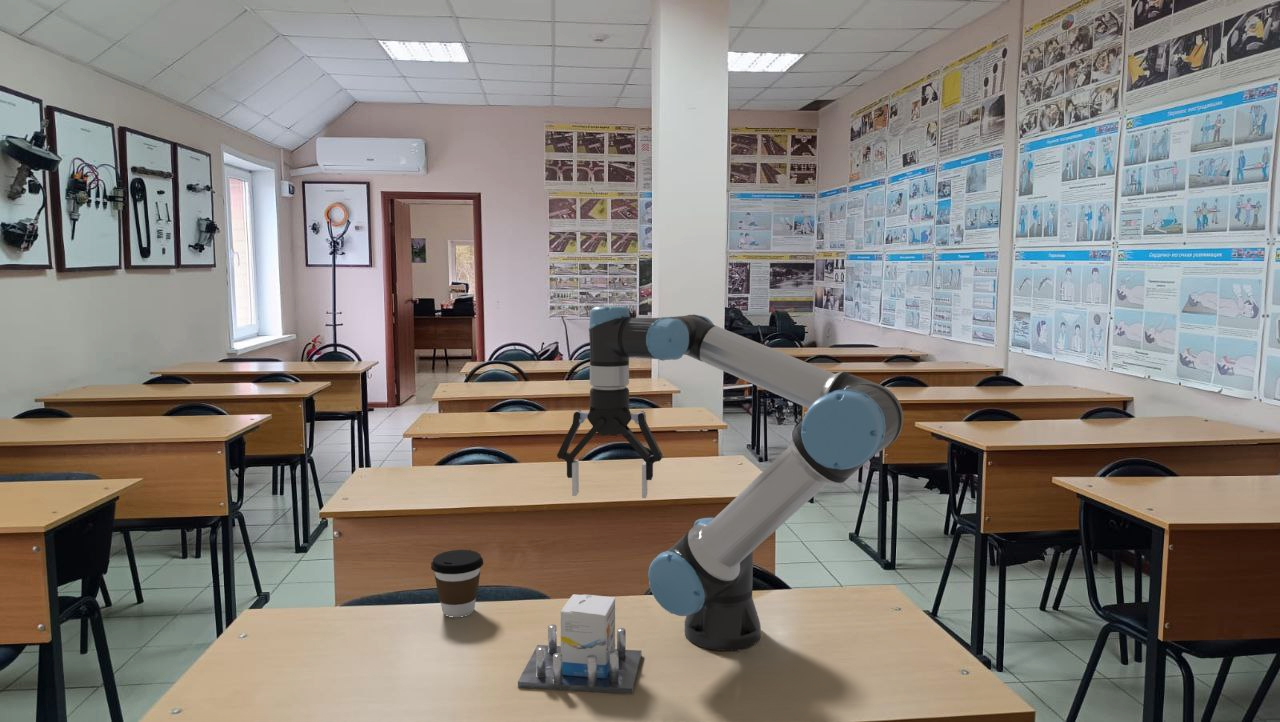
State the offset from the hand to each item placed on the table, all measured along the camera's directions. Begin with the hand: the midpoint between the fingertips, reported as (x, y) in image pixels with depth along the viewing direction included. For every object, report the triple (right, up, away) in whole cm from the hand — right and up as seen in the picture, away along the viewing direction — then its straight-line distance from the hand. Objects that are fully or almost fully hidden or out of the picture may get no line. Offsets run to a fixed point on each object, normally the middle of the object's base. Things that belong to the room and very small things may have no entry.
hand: (609, 495), depth 152 cm
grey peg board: (-5, -30, -11) cm, 32 cm away
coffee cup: (-33, -28, +15) cm, 45 cm away
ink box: (-3, -29, -11) cm, 31 cm away
